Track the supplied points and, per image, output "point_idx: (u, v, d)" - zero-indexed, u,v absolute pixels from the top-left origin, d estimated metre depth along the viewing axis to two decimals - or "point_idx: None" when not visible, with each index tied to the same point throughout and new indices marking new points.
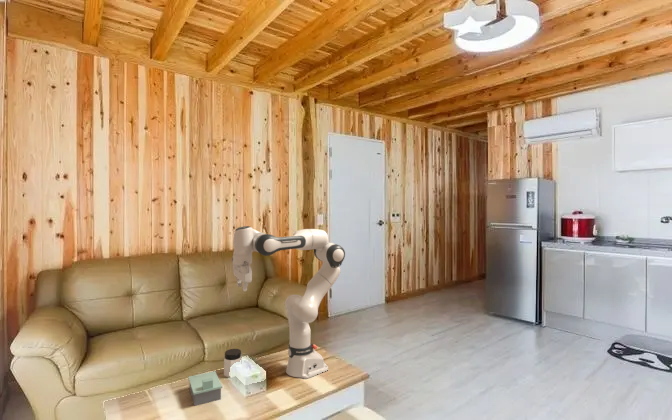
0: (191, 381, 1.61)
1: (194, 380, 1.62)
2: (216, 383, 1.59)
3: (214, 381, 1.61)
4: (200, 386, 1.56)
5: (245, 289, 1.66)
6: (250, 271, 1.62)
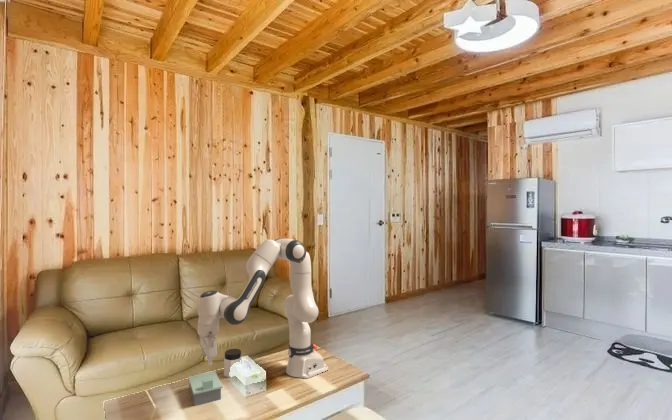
0: (191, 381, 1.61)
1: (194, 380, 1.62)
2: (216, 383, 1.59)
3: (214, 381, 1.61)
4: (200, 386, 1.56)
5: (210, 363, 1.50)
6: (215, 344, 1.47)
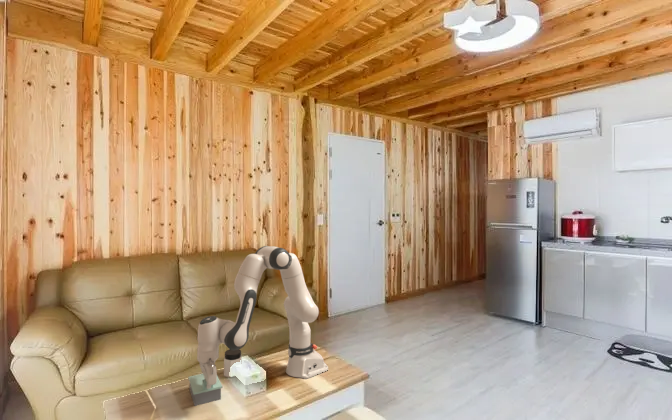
0: (191, 381, 1.61)
1: (194, 380, 1.62)
2: (216, 383, 1.59)
3: None
4: (200, 386, 1.56)
5: (209, 386, 1.53)
6: (215, 372, 1.47)
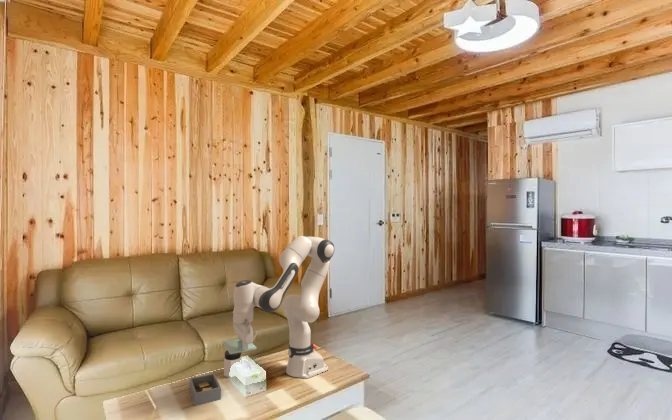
0: (226, 344, 1.67)
1: (228, 343, 1.68)
2: (250, 345, 1.66)
3: (248, 344, 1.67)
4: (235, 347, 1.63)
5: (244, 347, 1.59)
6: (251, 331, 1.54)
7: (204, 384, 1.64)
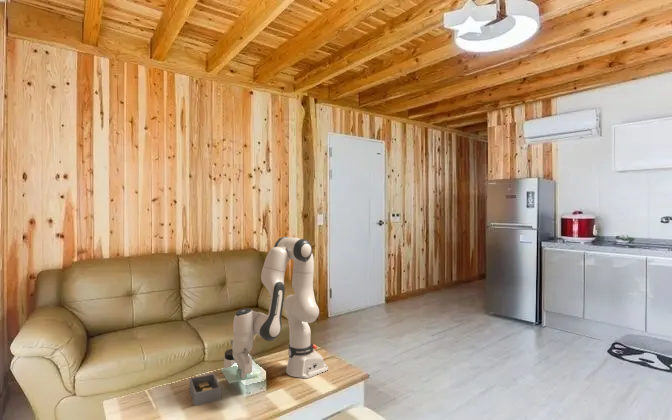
0: (224, 372, 1.67)
1: (227, 371, 1.68)
2: (249, 373, 1.66)
3: None
4: (234, 376, 1.63)
5: (243, 376, 1.59)
6: (250, 361, 1.54)
7: (204, 384, 1.64)
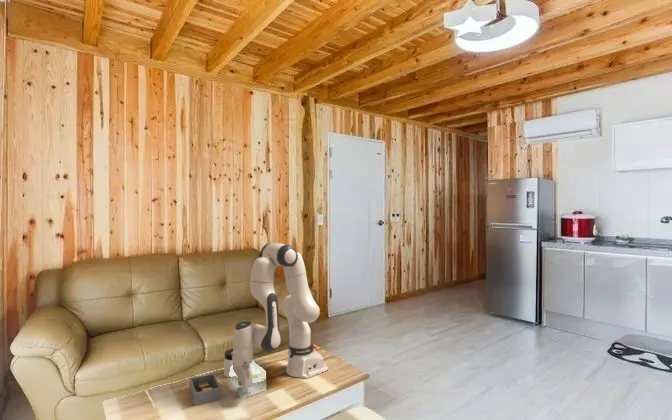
0: None
1: None
2: None
3: None
4: None
5: (244, 390, 1.59)
6: (251, 375, 1.54)
7: (204, 384, 1.64)
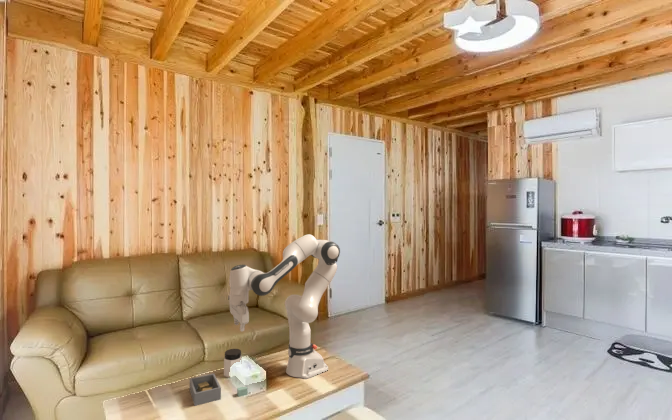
0: None
1: None
2: None
3: None
4: None
5: (242, 329, 1.66)
6: (247, 312, 1.62)
7: (204, 384, 1.64)
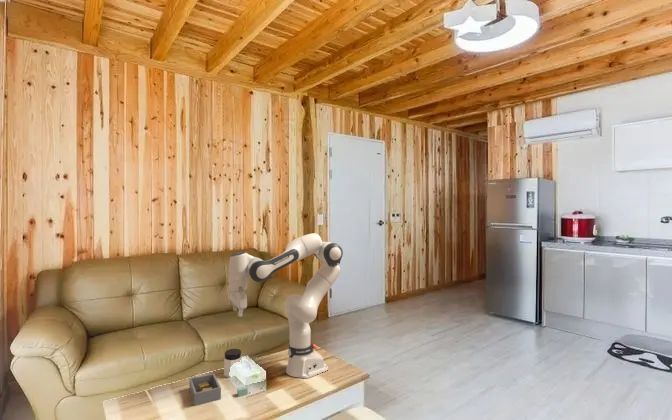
0: None
1: None
2: None
3: None
4: None
5: (240, 314, 1.69)
6: (245, 297, 1.66)
7: (204, 384, 1.64)
